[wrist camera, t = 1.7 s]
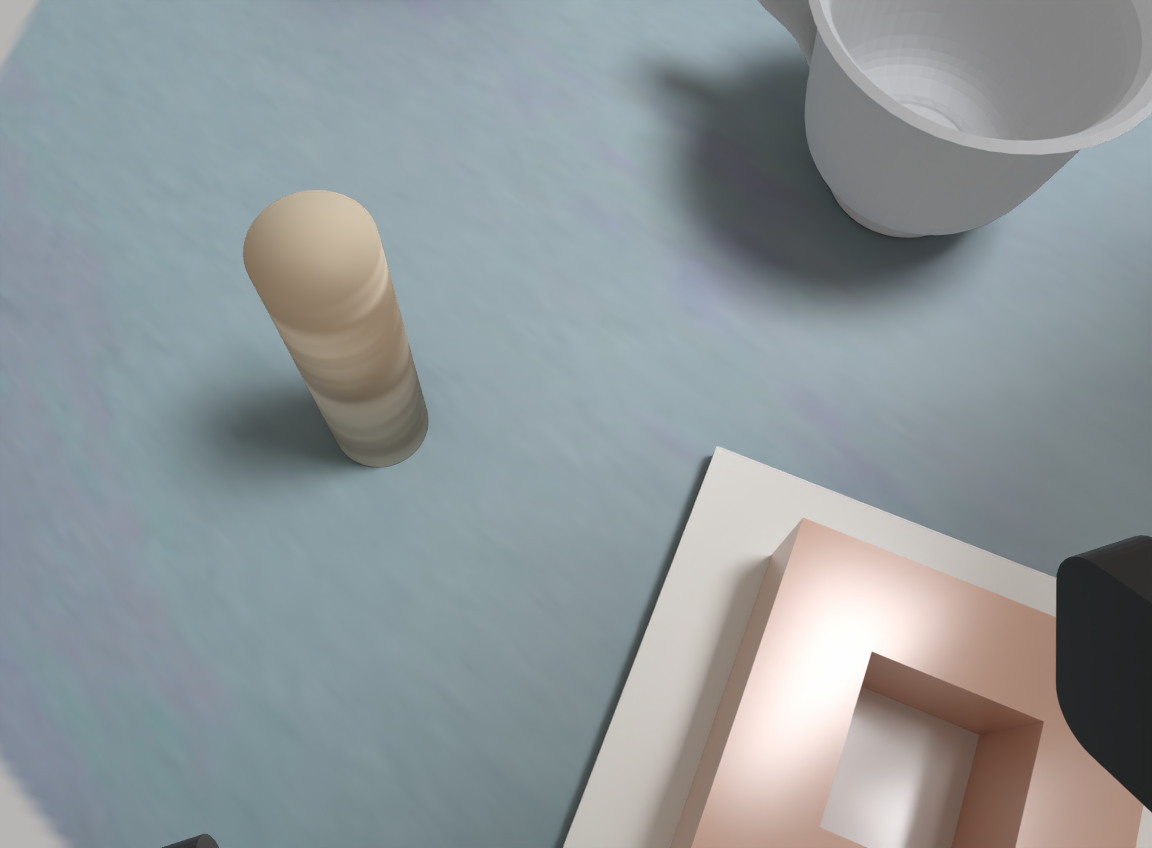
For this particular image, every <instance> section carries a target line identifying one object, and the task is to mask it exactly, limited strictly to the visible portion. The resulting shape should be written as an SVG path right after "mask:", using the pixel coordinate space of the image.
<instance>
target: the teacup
mask: <svg viewBox="0 0 1152 848" xmlns="http://www.w3.org/2000/svg"><path fill="white" fill-rule="evenodd" d="M758 1H759V2H760V3H761V5H762V6H763V7H764V8H765V9H766V10H767V11H768V12H769V13H770V14H771V15H773V16H774V17H775V18H776V19H777V20H778V21H779V22H780V23H781V24H782V25H783V26H785V27H786V28H787V30H788V31H789V32H790V33H791V34H792V36H793V37H794V38H795V39H796V41H797V43H798V44H799V46H800V48H801V49H802V51H803V53H804V55H805V58H806V60H807V63H808V66H809V68H810V70H809V76H808V81H807V89H806V101H805V115H804V116H805V128H806V137H807V142H808V145H809V149H810V152H811V155H812V157H813V160H814V162H815V164H816V167H817V169H818V171H819V172H820V174H821V176H822V177H823V179H824V180H825V182H826V183H827V184H828V186H829V187H830V188H831V191H832V193H833V195H834V197H835V199H836V200H837V202H838V203H839V205H840V206H841V207H842V209H843V210H844V211H845V212H846V213H847V214H848V215H849V216H850V217H851V218H853V219H854V220H855V221H856V222H858V223H859V224H861V225H863V226H864V227H866V228H868V229H870V230H872V231H875V232H878V233H880V234H884V235H888V236H893V237H901V238H912V237H921V236H926V235H946V234H955V233H959V232H964V231H968V230H973V229H975V228H978V227H981V226H984V225H986V224H988V223H990V222H992V221H994V220H996V219H998V218H999V217H1001V216H1003V215H1005V214H1007V213H1008V212H1010V211H1011V210H1013V209H1014V208H1015V207H1016V206H1018V205H1019V204H1020V203H1022V202H1023V201H1024V200H1025V199H1027V198H1028V197H1029V196H1031V195H1032V194H1033V193H1034V192H1036V191H1037V190H1038V189H1039V188H1040V187H1041V186H1042V185H1043V184H1044V183H1045V182H1046V181H1048V180H1049V179H1050V178H1051V177H1052V176H1053V175H1054V174H1055V173H1056V172H1057V171H1058V170H1059V169H1060V168H1061V167H1063V166H1064V165H1065V164H1066V163H1067V162H1068V161H1069V160H1070V159H1071V158H1072V157H1073V156H1074V155H1075V154H1076V153H1078V152H1079V151H1080V150H1081V149H1084V148H1089V147H1092V146H1095V145H1098V144H1101V143H1103V142H1106V141H1109V140H1112V139H1114V138H1116V137H1118V136H1119V135H1121V134H1123V133H1125V132H1127V131H1129V130H1130V129H1132V128H1134V127H1135V126H1136V125H1137V124H1139V123H1140V122H1141V121H1143V120H1144V119H1145V118H1146V117H1148V116H1149V115H1150V114H1151V113H1152V0H758Z"/></svg>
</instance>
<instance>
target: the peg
mask: <svg viewBox="0 0 1152 848" xmlns="http://www.w3.org/2000/svg"><path fill="white" fill-rule="evenodd" d="M243 257H244V264H245V268H246V270H247V273H248V275H249V277H250V279H251V281H252V283H253V285H254V287H255V288H256V290H257V292H258V294H259V296H260V298H261V300H262V302H263V304H264V305H265V307H266V309H267V311H268V313H269V315H270V317H271V319H272V321H273V322H274V324H275V326H276V328H277V330H278V332H279V334H280V336H281V338H282V339H283V341H284V343H285V345H286V347H287V349H288V351H289V353H290V355H291V356H292V358H293V360H294V362H295V364H296V366H297V368H298V370H299V372H300V373H301V375H302V377H303V379H304V381H305V383H306V385H307V387H308V389H309V390H310V392H311V394H312V396H313V398H314V400H315V402H316V404H317V406H318V407H319V409H320V411H321V413H322V415H323V417H324V419H325V421H326V423H327V424H328V426H329V428H330V430H331V432H332V434H333V436H334V438H335V440H336V441H337V443H338V445H339V447H340V448H341V450H342V451H343V452H344V453H345V454H346V455H347V456H348V457H349V458H351V459H352V460H354V461H355V462H358V463H360V464H363V465H366V466H371V467H386V466H391V465H394V464H397V463H399V462H402V461H404V460H405V459H407V458H408V457H410V456H411V455H412V454H413V453H414V452H415V451H416V450H417V449H418V448H419V447H420V445H421V444H422V442H423V440H424V438H425V436H426V433H427V429H428V413H427V409H426V405H425V401H424V398H423V394H422V390H421V387H420V383H419V379H418V376H417V372H416V368H415V365H414V361H413V357H412V354H411V350H410V346H409V343H408V339H407V335H406V332H405V328H404V324H403V321H402V317H401V313H400V310H399V306H398V302H397V299H396V295H395V291H394V288H393V284H392V280H391V277H390V273H389V269H388V266H387V262H386V258H385V255H384V251H383V247H382V244H381V240H380V236H379V233H378V230H377V226H376V224H375V222H374V220H373V218H372V217H371V216H370V214H369V213H368V212H367V211H366V209H365V208H364V207H363V206H361V205H360V204H359V203H358V202H356V201H354V200H353V199H351V198H349V197H347V196H345V195H342V194H339V193H336V192H331V191H325V190H308V191H301V192H297V193H293V194H290V195H288V196H285V197H283V198H281V199H279V200H277V201H275V202H274V203H272V204H271V205H269V206H268V207H267V208H265V209H264V210H263V211H262V212H261V213H260V214H259V215H258V216H257V217H256V219H255V220H254V222H253V223H252V224H251V226H250V228H249V230H248V232H247V235H246V238H245V242H244V248H243Z"/></svg>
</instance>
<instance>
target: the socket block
mask: <svg viewBox="0 0 1152 848" xmlns="http://www.w3.org/2000/svg"><path fill="white" fill-rule="evenodd" d="M1056 579H1057V578H1055V577H1052V576H1050V575H1047V574H1045V573H1042V572H1040V571H1037V570H1034V569H1032V568H1029V567H1027V566H1024V565H1022V564H1019V563H1016V562H1014V561H1011V560H1009V559H1006V558H1004V557H1001V556H999V555H996V554H993V553H991V552H988V551H986V550H983V549H981V548H978V547H975V546H973V545H970V544H968V543H965V542H963V541H960V540H957V539H955V538H952V537H950V536H947V535H945V534H942V533H940V532H937V531H934V530H932V529H929V528H927V527H924V526H922V525H919V524H916V523H914V522H911V521H909V520H906V519H904V518H901V517H898V516H896V515H893V514H891V513H888V512H886V511H883V510H881V509H878V508H875V507H873V506H870V505H868V504H865V503H863V502H860V501H857V500H855V499H852V498H850V497H847V496H845V495H842V494H839V493H837V492H834V491H832V490H829V489H827V488H824V487H821V486H819V485H816V484H814V483H811V482H809V481H806V480H804V479H801V478H798V477H796V476H793V475H791V474H788V473H786V472H783V471H780V470H778V469H775V468H773V467H770V466H768V465H765V464H762V463H760V462H757V461H755V460H752V459H750V458H747V457H745V456H742V455H739V454H737V453H734V452H732V451H729V450H727V449H724V448H721V447H719V446H717V447H716V449H715V451H714V454H713V456H712V458H711V461H710V464H709V466H708V469H707V471H706V474H705V477H704V479H703V482H702V484H701V487H700V490H699V492H698V495H697V498H696V500H695V503H694V505H693V508H692V511H691V513H690V516H689V518H688V521H687V524H686V526H685V529H684V531H683V534H682V537H681V539H680V542H679V544H678V547H677V550H676V552H675V555H674V558H673V560H672V563H671V565H670V568H669V571H668V573H667V576H666V578H665V581H664V584H663V586H662V589H661V591H660V594H659V597H658V599H657V602H656V604H655V607H654V610H653V612H652V615H651V617H650V620H649V623H648V625H647V628H646V631H645V633H644V636H643V638H642V641H641V644H640V646H639V649H638V651H637V654H636V657H635V659H634V662H633V664H632V667H631V670H630V672H629V675H628V677H627V680H626V683H625V685H624V688H623V690H622V693H621V696H620V698H619V701H618V704H617V706H616V709H615V711H614V714H613V717H612V719H611V722H610V724H609V727H608V730H607V732H606V735H605V737H604V740H603V743H602V745H601V748H600V750H599V753H598V756H597V758H596V761H595V764H594V766H593V769H592V771H591V774H590V777H589V779H588V782H587V784H586V787H585V790H584V792H583V795H582V797H581V800H580V803H579V805H578V808H577V810H576V813H575V816H574V818H573V821H572V823H571V826H570V829H569V831H568V834H567V837H566V839H565V842H564V844H563V847H562V848H1152V812H1150V811H1149V810H1148V809H1147V808H1146V807H1145V806H1144V805H1143V804H1142V803H1141V802H1140V801H1139V800H1138V799H1137V798H1136V797H1134V796H1133V795H1132V794H1131V793H1130V792H1129V791H1128V790H1127V789H1126V788H1125V787H1124V786H1123V785H1122V784H1121V783H1119V782H1118V781H1117V780H1116V779H1115V778H1114V777H1113V776H1112V775H1111V774H1110V773H1109V772H1108V771H1107V770H1106V769H1105V768H1103V767H1102V766H1101V765H1100V764H1099V763H1098V762H1097V761H1096V760H1095V759H1094V758H1093V757H1092V756H1091V755H1090V754H1089V753H1088V752H1087V751H1086V750H1085V749H1084V748H1083V747H1082V746H1081V744H1080V743H1079V742H1078V741H1077V739H1076V738H1075V736H1074V735H1073V733H1072V732H1071V730H1070V728H1069V726H1068V725H1067V722H1066V720H1065V718H1064V716H1063V714H1062V711H1061V708H1060V705H1059V702H1058V698H1057V692H1056Z"/></svg>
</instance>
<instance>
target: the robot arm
mask: <svg viewBox="0 0 1152 848" xmlns="http://www.w3.org/2000/svg"><path fill="white" fill-rule="evenodd" d="M1056 692H1057V698H1058V702H1059V705H1060V708H1061V711H1062V714H1063V716H1064V718H1065V720H1066V722H1067V725H1068V726H1069V728H1070V730H1071V732H1072V733H1073V735H1074V736H1075V738H1076V739H1077V741H1078V742H1079V743H1080V744H1081V746H1082V747H1083V748H1084V749H1085V750H1086V751H1087V752H1088V753H1089V754H1090V755H1091V756H1092V757H1093V758H1094V759H1095V760H1096V761H1097V762H1098V763H1099V764H1100V765H1101V766H1102V767H1103V768H1105V769H1106V770H1107V771H1108V772H1109V773H1110V774H1111V775H1112V776H1113V777H1114V778H1115V779H1116V780H1117V781H1118V782H1119V783H1121V784H1122V785H1123V786H1124V787H1125V788H1126V789H1127V790H1128V791H1129V792H1130V793H1131V794H1132V795H1133V796H1134V797H1136V798H1137V799H1138V800H1139V801H1140V802H1141V803H1142V804H1143V805H1144V806H1145V807H1146V808H1147V809H1148V810H1149V811H1150V812H1152V537H1149V536H1142V535H1139V536H1134V537H1131V538H1128V539H1125V540H1122V541H1119V542H1116V543H1112V544H1109V545H1106V546H1103V547H1100V548H1097V549H1094V550H1091V551H1088V552H1085V553H1082V554H1078V555H1075V556H1072V557H1069V558H1067V559H1065V560H1064V561H1063V562H1062V563H1061V565H1060V567H1059V569H1058V572H1057V579H1056ZM162 848H219V847H218V845H217V843H216V842H215V840H214V839H213V838H212V837H211V836H210V835H208V834H202V835H199V836H196V837H193V838H190V839H187V840H184V841H181V842H177V843H174V844H171V845H168V846H165V847H162Z"/></svg>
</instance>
